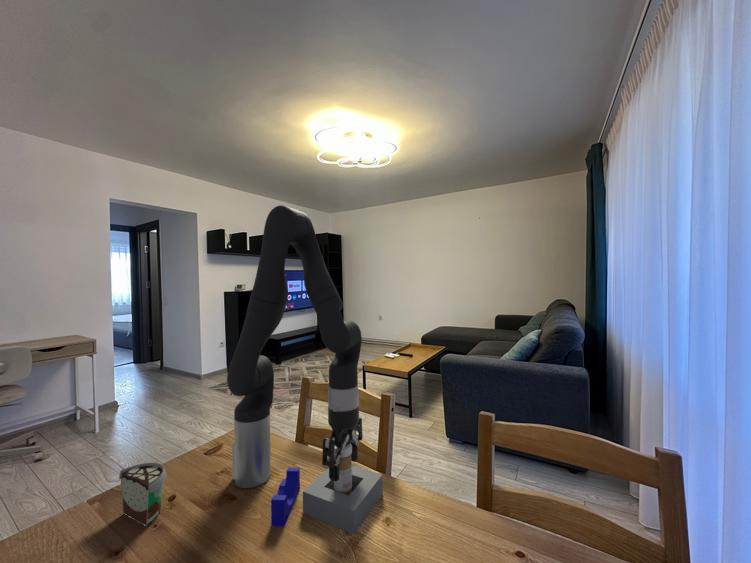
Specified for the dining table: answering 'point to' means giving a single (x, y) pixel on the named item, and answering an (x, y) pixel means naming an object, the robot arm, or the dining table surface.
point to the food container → (142, 491)
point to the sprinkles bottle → (344, 472)
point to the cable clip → (285, 497)
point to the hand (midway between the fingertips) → (344, 469)
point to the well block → (343, 499)
